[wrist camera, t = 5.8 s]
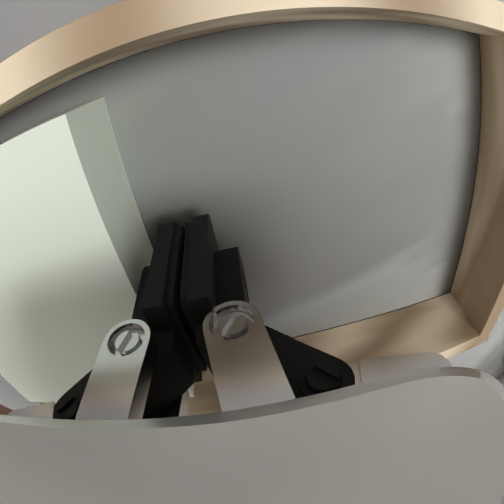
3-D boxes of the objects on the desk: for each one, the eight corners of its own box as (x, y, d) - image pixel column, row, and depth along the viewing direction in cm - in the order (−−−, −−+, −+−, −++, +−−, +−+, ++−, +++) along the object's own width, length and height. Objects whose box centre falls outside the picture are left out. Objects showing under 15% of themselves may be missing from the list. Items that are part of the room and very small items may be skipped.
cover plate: (107, 94, 9) (65, 113, 6) (193, 338, 16) (193, 396, 13) (-61, 181, 9) (-105, 219, 6) (43, 354, 16) (29, 401, 13)
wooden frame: (491, 16, 7) (552, 26, 4) (458, 299, 16) (486, 340, 14) (-84, 159, 7) (-130, 194, 4) (57, 380, 17) (46, 425, 14)
